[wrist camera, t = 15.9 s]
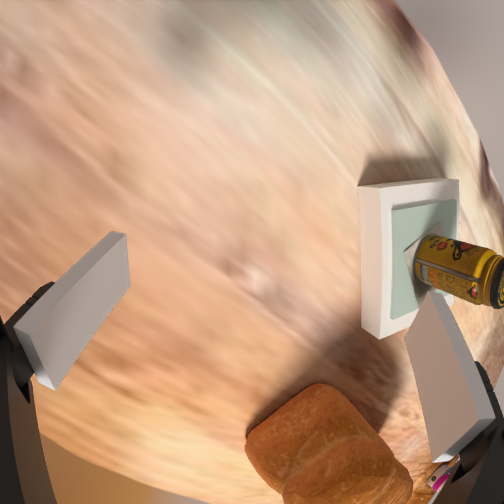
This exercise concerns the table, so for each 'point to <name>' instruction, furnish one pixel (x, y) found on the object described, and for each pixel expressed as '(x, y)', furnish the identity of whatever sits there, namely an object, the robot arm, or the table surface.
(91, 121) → the table surface
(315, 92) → the table surface
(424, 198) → the riser
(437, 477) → the supplement can
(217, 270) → the table surface
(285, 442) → the bread
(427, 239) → the condiment
